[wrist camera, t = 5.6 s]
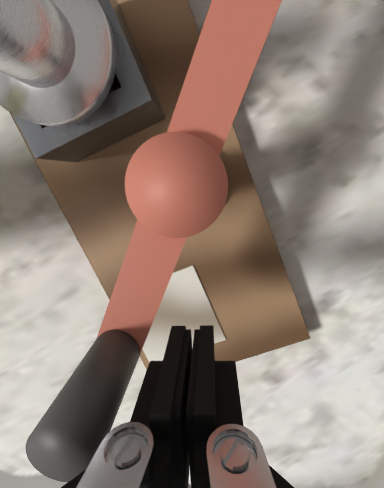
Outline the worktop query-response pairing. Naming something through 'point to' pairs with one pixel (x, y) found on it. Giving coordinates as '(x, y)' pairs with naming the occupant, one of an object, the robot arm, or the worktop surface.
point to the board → (195, 247)
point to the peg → (55, 60)
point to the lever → (157, 230)
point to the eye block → (103, 106)
